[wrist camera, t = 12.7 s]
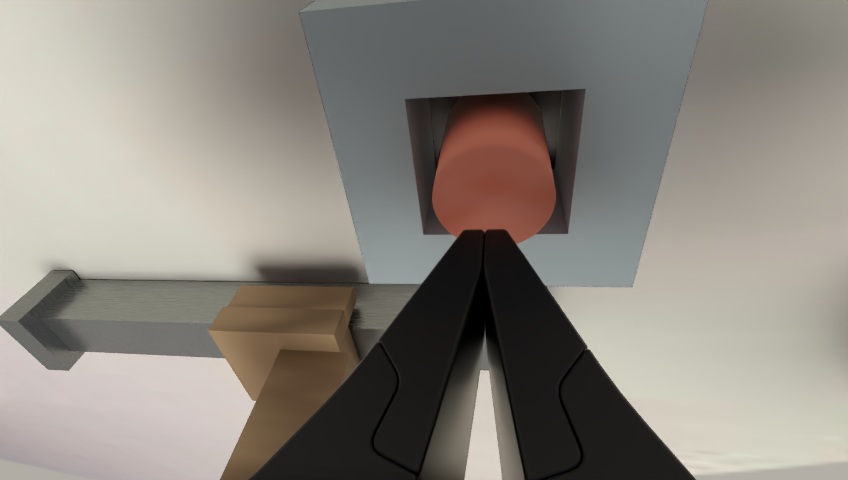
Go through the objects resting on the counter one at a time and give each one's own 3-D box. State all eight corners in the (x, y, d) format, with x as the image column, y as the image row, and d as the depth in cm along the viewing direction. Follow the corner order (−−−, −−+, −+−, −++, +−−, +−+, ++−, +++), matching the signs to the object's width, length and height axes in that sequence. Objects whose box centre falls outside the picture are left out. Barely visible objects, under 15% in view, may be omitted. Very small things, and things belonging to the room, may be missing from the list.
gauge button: (546, 79, 12) (561, 142, 9) (540, 170, 14) (551, 247, 11) (442, 85, 12) (425, 147, 9) (449, 172, 14) (437, 247, 11)
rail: (543, 275, 18) (550, 339, 15) (538, 333, 20) (543, 396, 17) (52, 270, 22) (-5, 320, 19) (93, 319, 24) (47, 369, 21)
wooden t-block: (361, 283, 18) (241, 642, 9) (381, 356, 21) (304, 677, 12) (238, 282, 18) (29, 607, 10) (274, 352, 21) (135, 647, 13)
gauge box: (660, -52, 11) (715, -29, 8) (609, 216, 16) (632, 287, 13) (336, -17, 12) (289, 12, 9) (384, 219, 17) (363, 283, 14)
